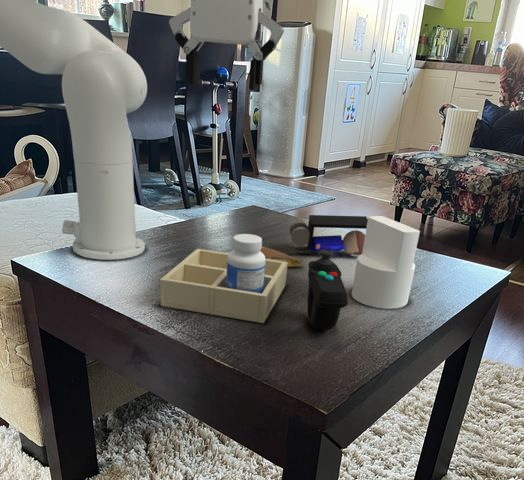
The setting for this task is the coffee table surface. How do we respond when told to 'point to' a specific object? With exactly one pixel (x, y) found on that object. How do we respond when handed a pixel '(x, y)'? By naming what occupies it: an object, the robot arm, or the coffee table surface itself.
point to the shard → (280, 257)
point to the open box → (220, 288)
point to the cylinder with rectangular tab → (385, 264)
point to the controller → (325, 292)
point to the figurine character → (350, 242)
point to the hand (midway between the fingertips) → (223, 86)
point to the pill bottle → (246, 264)
